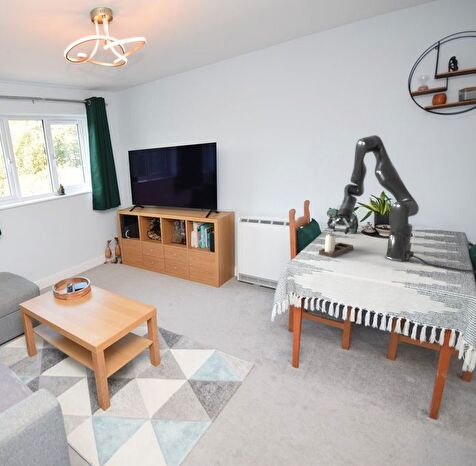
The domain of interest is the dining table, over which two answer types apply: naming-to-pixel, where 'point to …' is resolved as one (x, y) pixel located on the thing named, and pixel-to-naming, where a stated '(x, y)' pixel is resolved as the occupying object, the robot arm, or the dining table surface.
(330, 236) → the dispenser
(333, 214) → the ceramic cat
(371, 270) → the dining table surface
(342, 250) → the tray
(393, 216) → the robot arm
